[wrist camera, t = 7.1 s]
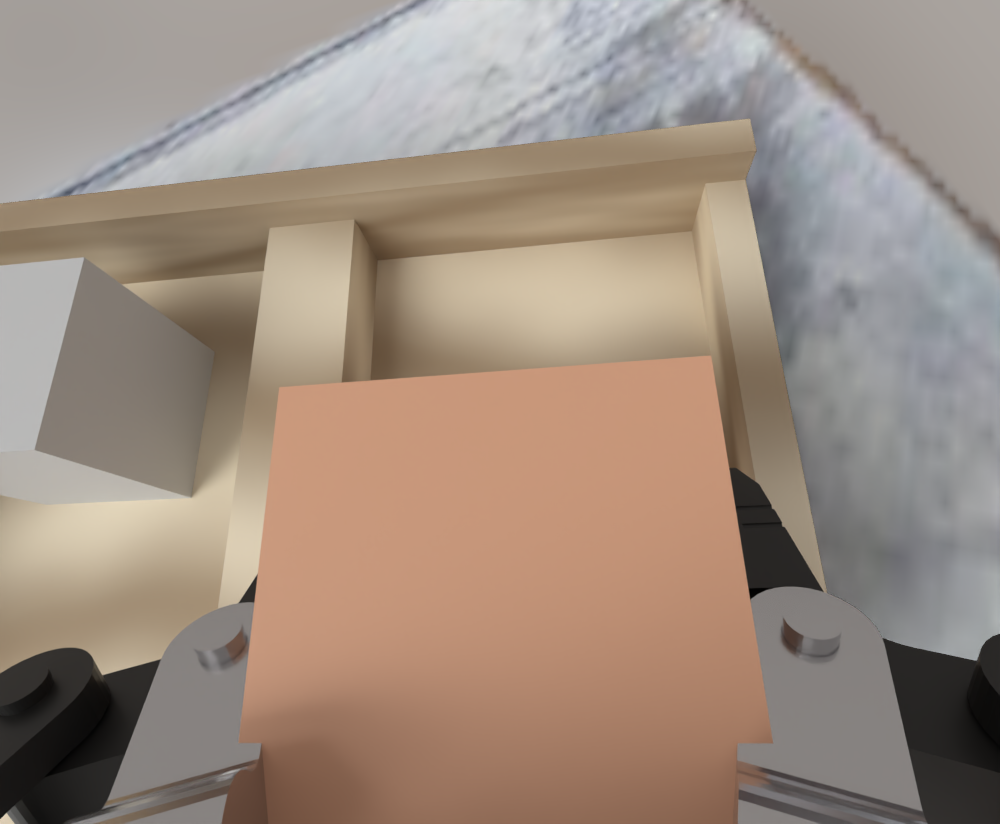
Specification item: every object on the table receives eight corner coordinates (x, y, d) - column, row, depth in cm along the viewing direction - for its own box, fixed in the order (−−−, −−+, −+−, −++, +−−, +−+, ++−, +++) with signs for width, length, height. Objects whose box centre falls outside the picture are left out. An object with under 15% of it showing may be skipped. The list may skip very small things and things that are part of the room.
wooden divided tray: (882, 1302, 11) (1103, 1805, 6) (-176, 1188, 14) (-566, 1483, 9) (708, 240, 19) (749, 118, 14) (61, 299, 22) (-81, 213, 17)
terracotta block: (660, 727, 12) (801, 917, 4) (440, 727, 12) (219, 899, 5) (637, 504, 13) (710, 356, 6) (443, 513, 14) (279, 386, 6)
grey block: (191, 498, 16) (34, 450, 12) (46, 504, 17) (-161, 461, 12) (214, 352, 18) (84, 257, 13) (80, 362, 18) (-91, 274, 14)
